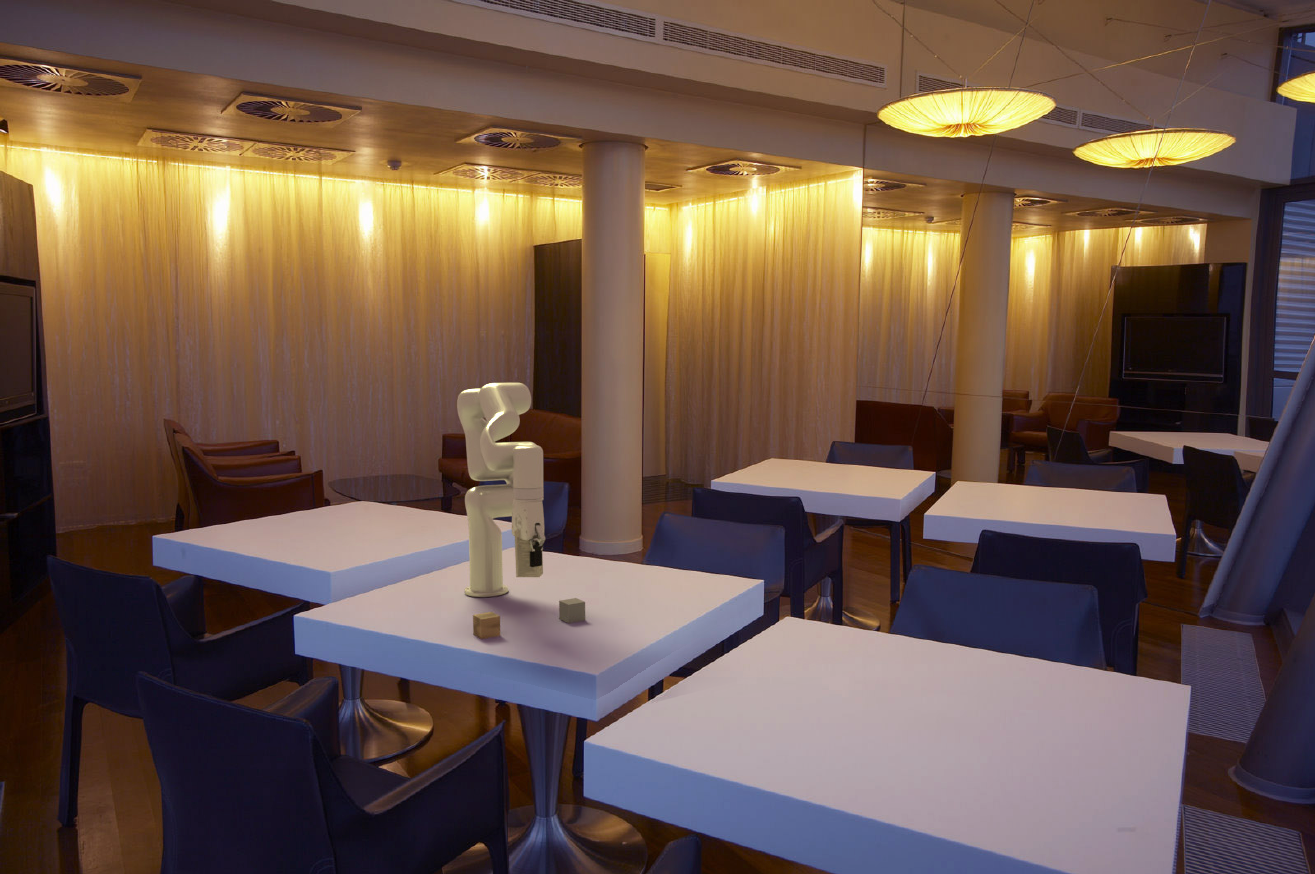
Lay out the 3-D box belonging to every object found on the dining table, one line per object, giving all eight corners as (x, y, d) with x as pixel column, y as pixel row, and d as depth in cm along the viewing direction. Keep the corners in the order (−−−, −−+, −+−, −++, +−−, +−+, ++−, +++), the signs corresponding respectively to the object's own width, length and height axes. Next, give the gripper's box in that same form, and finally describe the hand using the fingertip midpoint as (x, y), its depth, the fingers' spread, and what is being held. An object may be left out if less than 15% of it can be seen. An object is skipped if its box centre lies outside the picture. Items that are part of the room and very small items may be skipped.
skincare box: (543, 573, 231) (543, 526, 230) (539, 578, 227) (539, 530, 225) (519, 573, 232) (518, 526, 230) (514, 577, 227) (514, 529, 226)
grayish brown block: (559, 619, 237) (559, 600, 236) (576, 616, 240) (575, 597, 239) (568, 623, 233) (568, 604, 232) (585, 620, 235) (585, 601, 235)
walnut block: (473, 634, 223) (472, 614, 223) (492, 631, 226) (491, 611, 226) (481, 639, 219) (480, 619, 219) (500, 635, 222) (499, 616, 222)
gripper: (500, 490, 232) (501, 558, 234) (530, 499, 218) (530, 572, 219) (526, 488, 236) (527, 555, 238) (557, 497, 222) (558, 568, 224)
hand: (529, 562), depth 229 cm, fingers closed on skincare box, 7 cm apart
